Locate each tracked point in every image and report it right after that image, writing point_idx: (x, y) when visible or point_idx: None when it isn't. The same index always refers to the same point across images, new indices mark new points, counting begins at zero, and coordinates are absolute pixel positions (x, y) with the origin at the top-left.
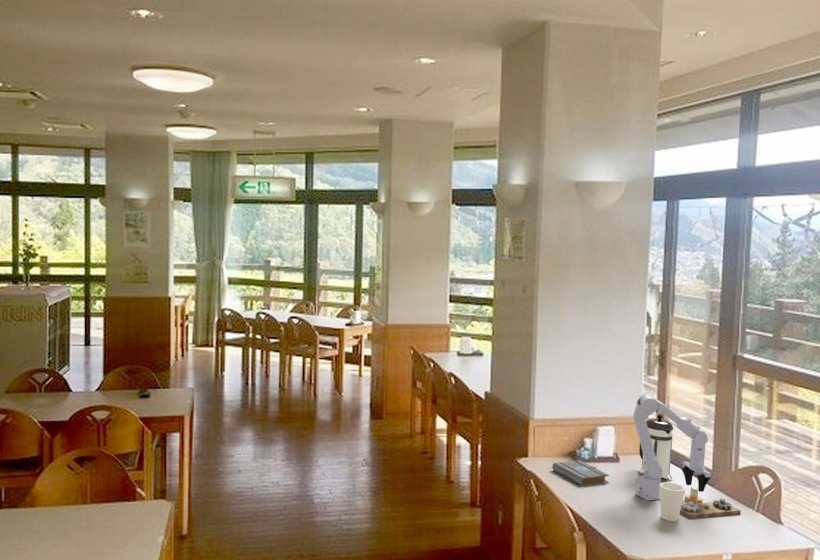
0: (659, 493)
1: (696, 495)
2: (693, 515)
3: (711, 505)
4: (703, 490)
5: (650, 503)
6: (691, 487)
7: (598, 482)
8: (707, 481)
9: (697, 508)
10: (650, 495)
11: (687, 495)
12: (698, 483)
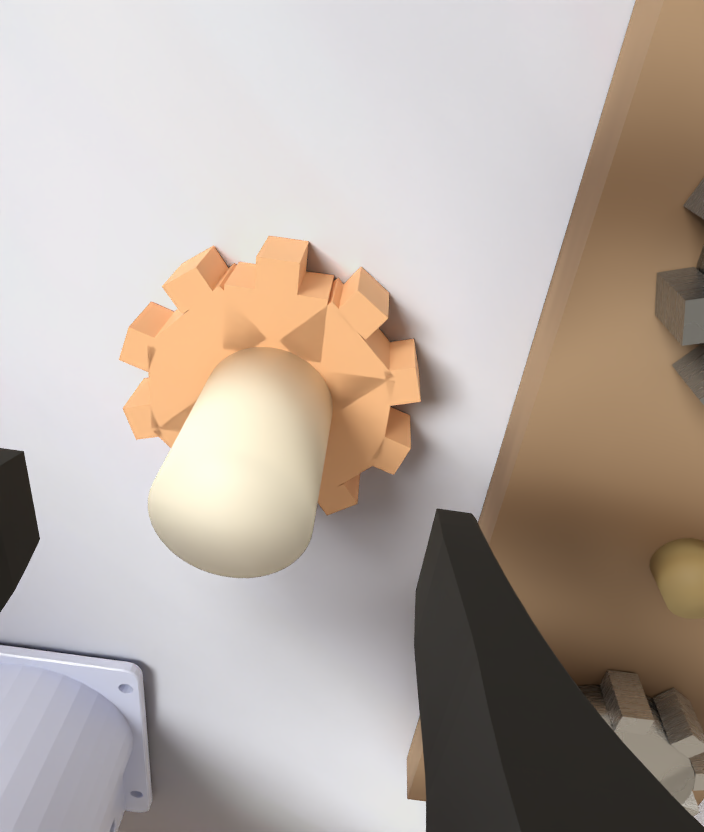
0: (90, 746)
1: (324, 450)
2: (695, 798)
3: (672, 413)
4: (477, 536)
5: (221, 806)
6: (155, 525)
7: None
8: (637, 781)
9: (700, 788)
10: (112, 805)
11: (155, 424)
12: (430, 806)
